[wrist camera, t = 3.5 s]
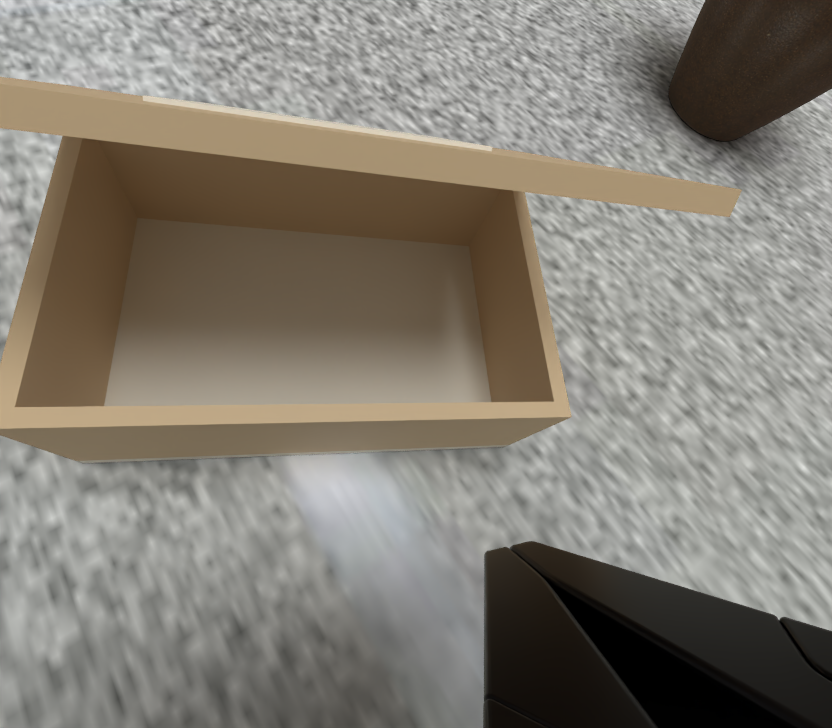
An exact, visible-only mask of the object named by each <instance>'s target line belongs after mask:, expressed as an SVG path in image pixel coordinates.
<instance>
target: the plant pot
mask: <svg viewBox="0 0 832 728" xmlns="http://www.w3.org/2000/svg"><path fill="white" fill-rule="evenodd" d="M830 89H832V0H705V2H704V5H703V7H702V9H701V11H700V13H699V15H698V18H697V20H696V22H695V25H694V27H693V29H692V31H691V34H690V36H689V38H688V41H687V43H686V46H685V48H684V50H683V53H682V55H681V58H680V60H679V63H678V65H677V68H676V70H675V73H674V76H673V78H672V81H671V84H670V86H669V99H670V101H671V104H672V106H673V108H674V110H675V111H676V112H677V114H678V115H679V116H680V117H681V119H682V120H683V121H684V122H685V123H686V124H687V125H689V126H690V127H691V128H693V129H694V130H695V131H697V132H698V133H700V134H702V135H704V136H707V137H709V138H712V139H715V140H720V141H732V140H736V139H738V138H740V137H742V136H744V135H746V134H748V133H750V132H752V131H754V130H756V129H758V128H760V127H762V126H764V125H766V124H768V123H770V122H772V121H774V120H776V119H778V118H780V117H781V116H783V115H785V114H787V113H789V112H791V111H793V110H794V109H796V108H798V107H800V106H802V105H804V104H805V103H807V102H809V101H811V100H813V99H814V98H816V97H818V96H820V95H821V94H823V93H825V92H827V91H828V90H830Z"/></svg>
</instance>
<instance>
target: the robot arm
mask: <svg viewBox="0 0 832 728" xmlns="http://www.w3.org/2000/svg"><path fill="white" fill-rule="evenodd" d="M483 728H832V631H829V630H826V629H822V628H819V627H816V626H813V625H809V624H806V623H803V622H800V621H796V620H793V619H790V618H787V617H782V618H780V620H778V618H777V617H776V616H775V615H773V614H769V613H766V612H763V611H760V610H756V609H753V608H750V607H747V606H743V605H740V604H737V603H733V602H730V601H727V600H724V599H720V598H717V597H714V596H711V595H707V594H704V593H701V592H697V591H694V590H691V589H688V588H684V587H681V586H678V585H675V584H671V583H668V582H665V581H661V580H658V579H655V578H652V577H648V576H645V575H642V574H639V573H635V572H632V571H629V570H626V569H622V568H619V567H616V566H612V565H609V564H606V563H603V562H599V561H596V560H593V559H590V558H586V557H583V556H580V555H577V554H573V553H570V552H567V551H564V550H560V549H557V548H554V547H550V546H547V545H544V544H541V543H537V542H534V541H529V542H525V543H521V544H516V545H513V546H511V547H510V549H509V548H507V547H504V548H499V549H495V550H490V551H487V552H486V553H485V555H484V707H483Z"/></svg>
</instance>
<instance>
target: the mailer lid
mask: <svg viewBox="0 0 832 728" xmlns="http://www.w3.org/2000/svg"><path fill="white" fill-rule="evenodd" d="M0 128H4V129H13V130H21V131H29V132H37V133H45V134H54V135H62V136H70V137H78V138H86V139H95V140H103V141H111V142H119V143H127V144H136V145H144V146H152V147H160V148H168V149H177V150H185V151H193V152H201V153H209V154H218V155H226V156H234V157H242V158H250V159H259V160H267V161H275V162H283V163H291V164H299V165H308V166H316V167H324V168H332V169H340V170H349V171H357V172H365V173H373V174H381V175H390V176H398V177H406V178H414V179H422V180H431V181H439V182H447V183H455V184H463V185H472V186H480V187H488V188H496V189H504V190H513V191H521V192H529V193H537V194H545V195H554V196H562V197H570V198H578V199H586V200H595V201H603V202H611V203H619V204H627V205H636V206H644V207H652V208H660V209H668V210H677V211H685V212H693V213H701V214H709V215H718V216H726V217H730V215H731V213H732V211H733V208H734V206H735V204H736V202H737V200H738V197H739V195H740V193H741V191H742V190H740V189H734V188H728V187H723V186H717V185H711V184H705V183H699V182H693V181H688V180H682V179H676V178H670V177H664V176H658V175H653V174H647V173H641V172H635V171H629V170H623V169H618V168H612V167H606V166H600V165H594V164H588V163H583V162H577V161H571V160H565V159H559V158H553V157H548V156H542V155H536V154H530V153H524V152H518V151H511V150H504V149H497V148H493V147H490V146H484V145H478V144H472V143H466V142H461V141H455V140H449V139H443V138H437V137H431V136H424V135H417V134H411V133H404V132H397V131H390V130H384V129H377V128H370V127H363V126H357V125H350V124H343V123H336V122H330V121H323V120H316V119H309V118H303V117H296V116H289V115H282V114H276V113H269V112H262V111H255V110H249V109H242V108H235V107H228V106H222V105H215V104H208V103H201V102H193V101H185V100H177V99H168V98H160V97H152V96H144V95H142V96H137V95H130V94H123V93H116V92H109V91H103V90H96V89H89V88H82V87H75V86H68V85H61V84H53V83H45V82H37V81H29V80H21V79H13V78H5V77H0Z"/></svg>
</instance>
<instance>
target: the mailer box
mask: <svg viewBox="0 0 832 728" xmlns="http://www.w3.org/2000/svg"><path fill="white" fill-rule="evenodd" d="M570 417H571V412H570V407H569V402H568V397H567V393H566V388H565V383H564V378H563V373H562V369H561V364H560V359H559V354H558V349H557V345H556V340H555V335H554V330H553V326H552V321H551V316H550V311H549V306H548V302H547V297H546V292H545V287H544V282H543V278H542V273H541V268H540V263H539V258H538V254H537V249H536V244H535V239H534V234H533V230H532V225H531V220H530V215H529V210H528V206H527V201H526V196H525V192H521V191H513V190H504V189H496V188H488V187H480V186H472V185H463V184H455V183H447V182H439V181H431V180H422V179H414V178H406V177H398V176H390V175H381V174H373V173H365V172H357V171H349V170H340V169H332V168H324V167H316V166H308V165H299V164H291V163H283V162H275V161H267V160H259V159H250V158H242V157H234V156H226V155H218V154H209V153H201V152H193V151H185V150H177V149H168V148H160V147H152V146H144V145H136V144H127V143H119V142H111V141H103V140H95V139H86V138H78V137H70V136H63V137H62V141H61V144H60V148H59V151H58V155H57V159H56V162H55V166H54V170H53V173H52V177H51V181H50V184H49V188H48V192H47V195H46V199H45V203H44V206H43V210H42V214H41V217H40V221H39V225H38V228H37V232H36V235H35V239H34V243H33V246H32V250H31V254H30V257H29V261H28V265H27V268H26V272H25V276H24V279H23V283H22V287H21V290H20V294H19V298H18V301H17V305H16V308H15V312H14V316H13V319H12V323H11V327H10V330H9V334H8V338H7V341H6V345H5V349H4V352H3V356H2V360H1V363H0V435H1V436H4V437H7V438H10V439H13V440H16V441H19V442H22V443H25V444H28V445H31V446H34V447H37V448H40V449H42V450H45V451H48V452H51V453H54V454H57V455H60V456H63V457H66V458H69V459H72V460H75V461H78V462H81V463H106V462H132V461H158V460H184V459H210V458H235V457H261V456H287V455H313V454H339V453H365V452H391V451H417V450H443V449H469V448H495V447H505V446H508V445H510V444H512V443H514V442H517V441H519V440H521V439H523V438H526V437H528V436H530V435H532V434H535V433H537V432H539V431H541V430H544V429H546V428H548V427H550V426H553V425H555V424H557V423H559V422H561V421H564V420H566V419H568V418H570Z"/></svg>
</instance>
